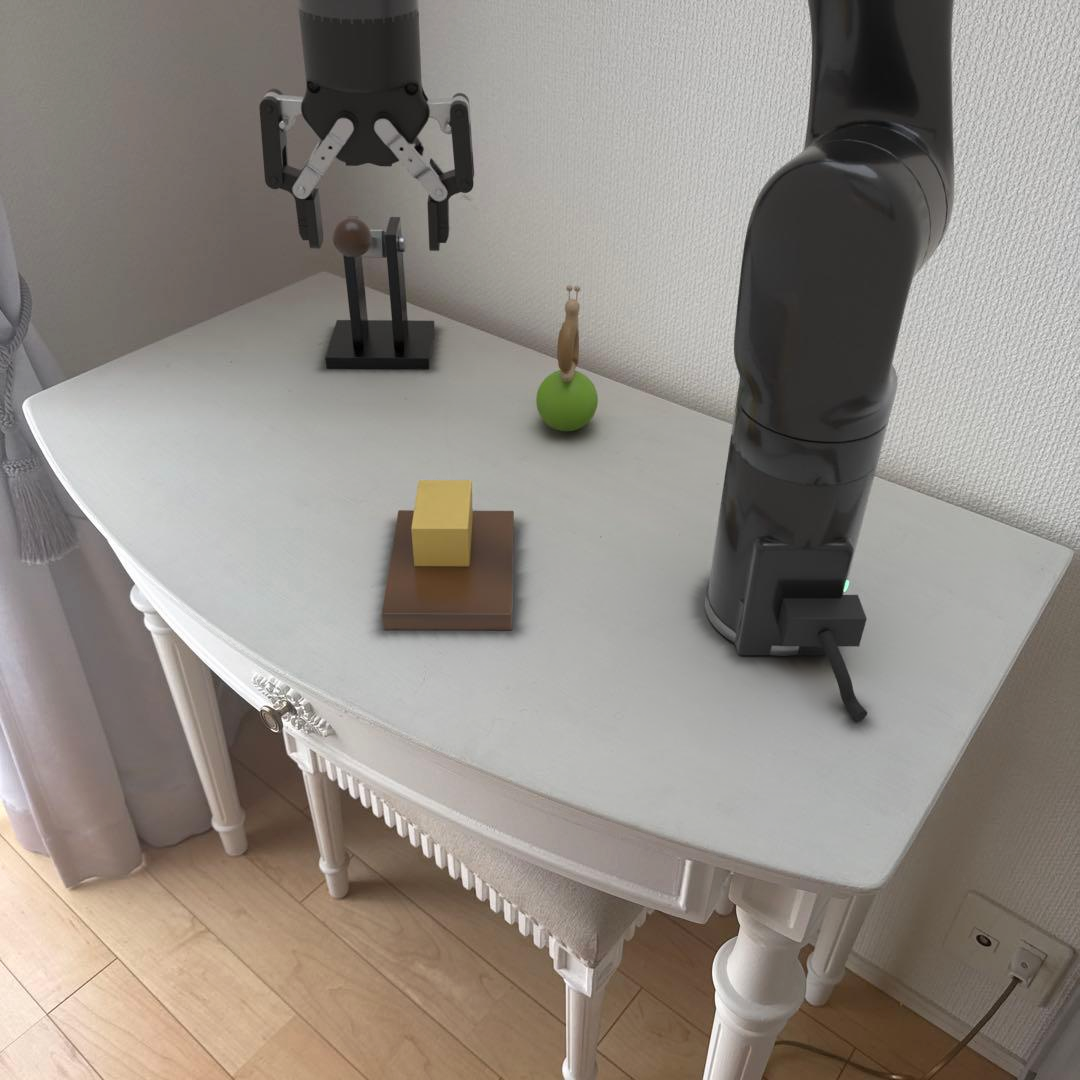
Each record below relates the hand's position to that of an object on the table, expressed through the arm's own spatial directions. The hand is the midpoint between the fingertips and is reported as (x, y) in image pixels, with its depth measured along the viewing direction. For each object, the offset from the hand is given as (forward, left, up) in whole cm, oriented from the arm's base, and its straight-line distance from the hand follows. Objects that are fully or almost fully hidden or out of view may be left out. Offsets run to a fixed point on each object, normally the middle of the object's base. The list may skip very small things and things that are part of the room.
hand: (376, 245), depth 76 cm
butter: (-11, -5, -18) cm, 22 cm away
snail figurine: (+8, -15, -20) cm, 26 cm away
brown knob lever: (+15, +3, -8) cm, 17 cm away
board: (-14, -6, -20) cm, 25 cm away
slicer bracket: (+21, +3, -20) cm, 29 cm away
